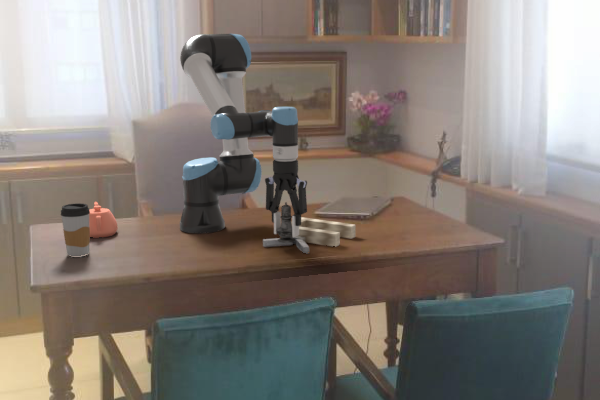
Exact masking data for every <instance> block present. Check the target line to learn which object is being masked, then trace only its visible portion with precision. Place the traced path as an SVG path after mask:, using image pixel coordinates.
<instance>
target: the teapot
mask: <svg viewBox="0 0 600 400" xmlns="http://www.w3.org/2000/svg"><path fill="white" fill-rule="evenodd" d="M93 205H94V206H93V208H89V211H90V213H89V227H90V237H93V238H92V239H100V238H99V237H102V238H109V237H111V236H114V235H116V233H117V231H118V229H119V228H118V222H117V219H116V218H115V216H114V214H113V213H112V211H111V210H110V209H109V208H104V207H102V206H101V205H99V203H98V202H97V201H94V203H93Z"/></svg>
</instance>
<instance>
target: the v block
mask: <svg viewBox="0 0 600 400" xmlns="http://www.w3.org/2000/svg"><path fill="white" fill-rule="evenodd" d="M280 238H281V237H279V238H277V237H275V238H266V239H265V238H263V239H262V247H264V248H270V247H271V248H273V247H280V246H281V247H283V246H293V244H294V245H296V247H297V249H298V250H299V251H300V252H301V251H302V252H303V253H306V254H309V253H310V245H308V244H307V242H306V240H305V237H300V236H296V237H292V238H294V239H295V241H294V242H290V243H282V242H279V241H278V239H280ZM302 252H301V253H302ZM308 252H309V253H308ZM303 253H302V254H303Z"/></svg>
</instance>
